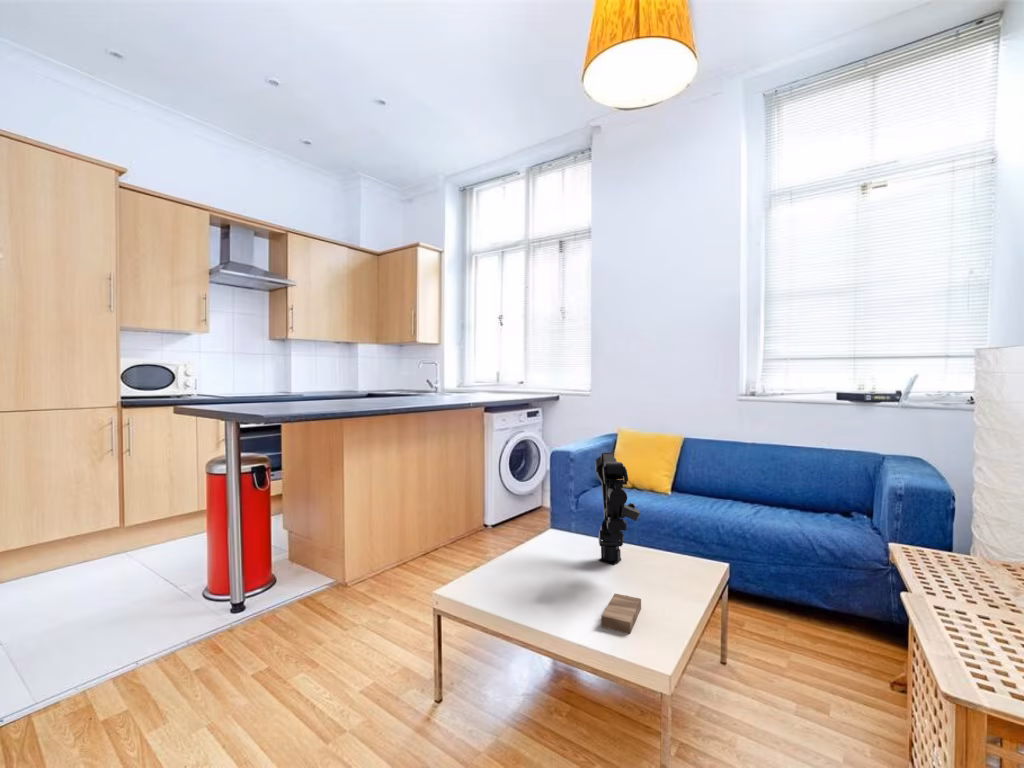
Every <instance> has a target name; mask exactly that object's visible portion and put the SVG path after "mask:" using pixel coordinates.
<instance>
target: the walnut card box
mask: <svg viewBox="0 0 1024 768" xmlns="http://www.w3.org/2000/svg"><path fill="white" fill-rule="evenodd" d="M641 610H642V598H639V597H634V596H629V595H624V594H620V593H614V594H613V595H612V597H611V599H610V601H609V602H608V604H607V605H606V607H605V609H604V611H603V612H602V614H601V619H600V620H601V623H600V624H601V628H603V629H604V628H605V629H608V628H609V630H612V629H613V631H617V630H618V631H617V632H621V631H622V632H621V633H625V632H626V634H629V635H630V634H631V633H632V631H633V629H634V626H635V624H636V622H637V620H638V618H639V615H640V613H641Z"/></svg>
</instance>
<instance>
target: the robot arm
mask: <svg viewBox="0 0 1024 768" xmlns="http://www.w3.org/2000/svg"><path fill="white" fill-rule="evenodd" d="M594 470H595V473H596V477H597V479H598V481H599V482H600V483H601V494H602V507H603V508H602V509H603V511H602V512H603V521H602V523H601V524H600V529H599V530H598V544H599V547H600V558H599V560H598V561H599V562H602V563H606V564H610V565H616V564H618V563H619V562H620V561H622V557H621V553H622V552H621V549H620V548H621V547H623V545H624V532H623V531H627V530H628V529H627V525H628V524H627V522H626V521H625V517H626V518H628V519H631V520H632V521H634V522H638V519H639V517H640V514H641V512H640V511H639V509H637V508H636V506H635V504H634V503H632V502H629V503H628V504H626V502H627V501H628V495H627V492H626V491H625V490H624V487H623V486H625V485H626V486H627V485H628V482H629V477H628V470H627V469H626V466H625V465H624V464H623V463H622V462H620V461H617V459H616V458H615V454H614V452H601V453H600V456H599V457H597V458H596V459H595V464H594Z"/></svg>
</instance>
